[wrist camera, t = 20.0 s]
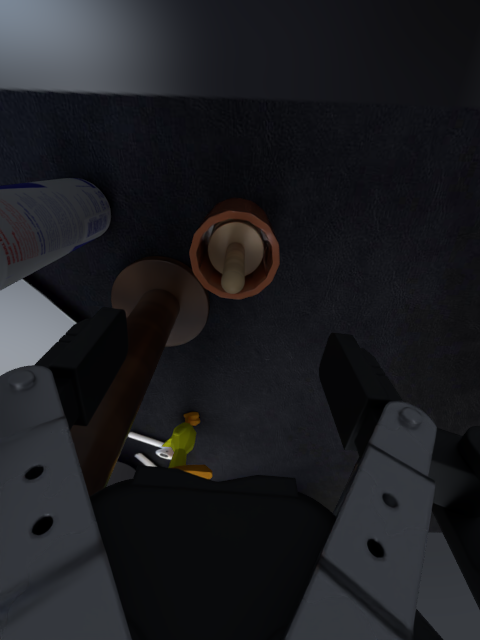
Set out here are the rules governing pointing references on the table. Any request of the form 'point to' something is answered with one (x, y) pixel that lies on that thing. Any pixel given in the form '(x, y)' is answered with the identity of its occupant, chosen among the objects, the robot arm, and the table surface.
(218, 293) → the holder
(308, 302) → the table surface
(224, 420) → the table surface
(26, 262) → the beverage can
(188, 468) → the toy figure
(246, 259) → the beige plunger
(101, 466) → the brown pedestal stand
